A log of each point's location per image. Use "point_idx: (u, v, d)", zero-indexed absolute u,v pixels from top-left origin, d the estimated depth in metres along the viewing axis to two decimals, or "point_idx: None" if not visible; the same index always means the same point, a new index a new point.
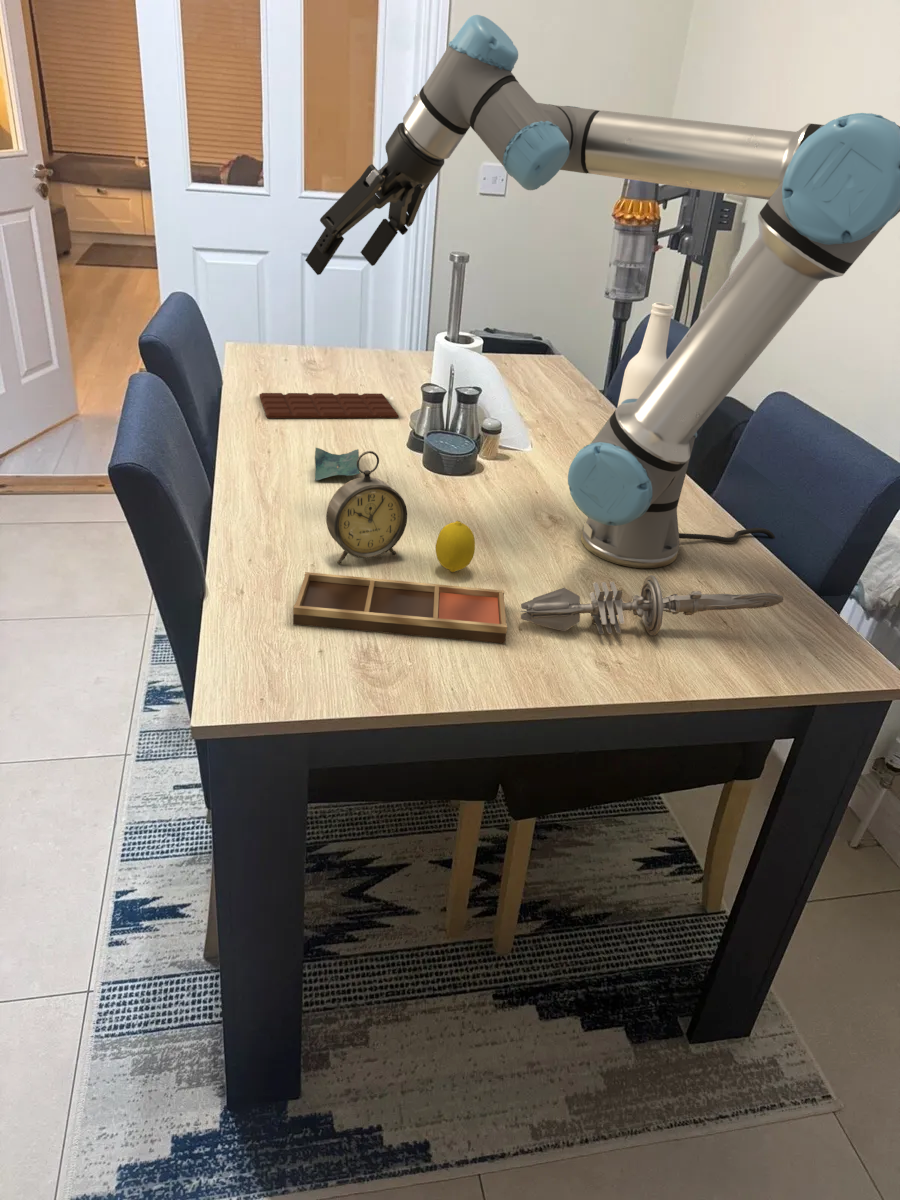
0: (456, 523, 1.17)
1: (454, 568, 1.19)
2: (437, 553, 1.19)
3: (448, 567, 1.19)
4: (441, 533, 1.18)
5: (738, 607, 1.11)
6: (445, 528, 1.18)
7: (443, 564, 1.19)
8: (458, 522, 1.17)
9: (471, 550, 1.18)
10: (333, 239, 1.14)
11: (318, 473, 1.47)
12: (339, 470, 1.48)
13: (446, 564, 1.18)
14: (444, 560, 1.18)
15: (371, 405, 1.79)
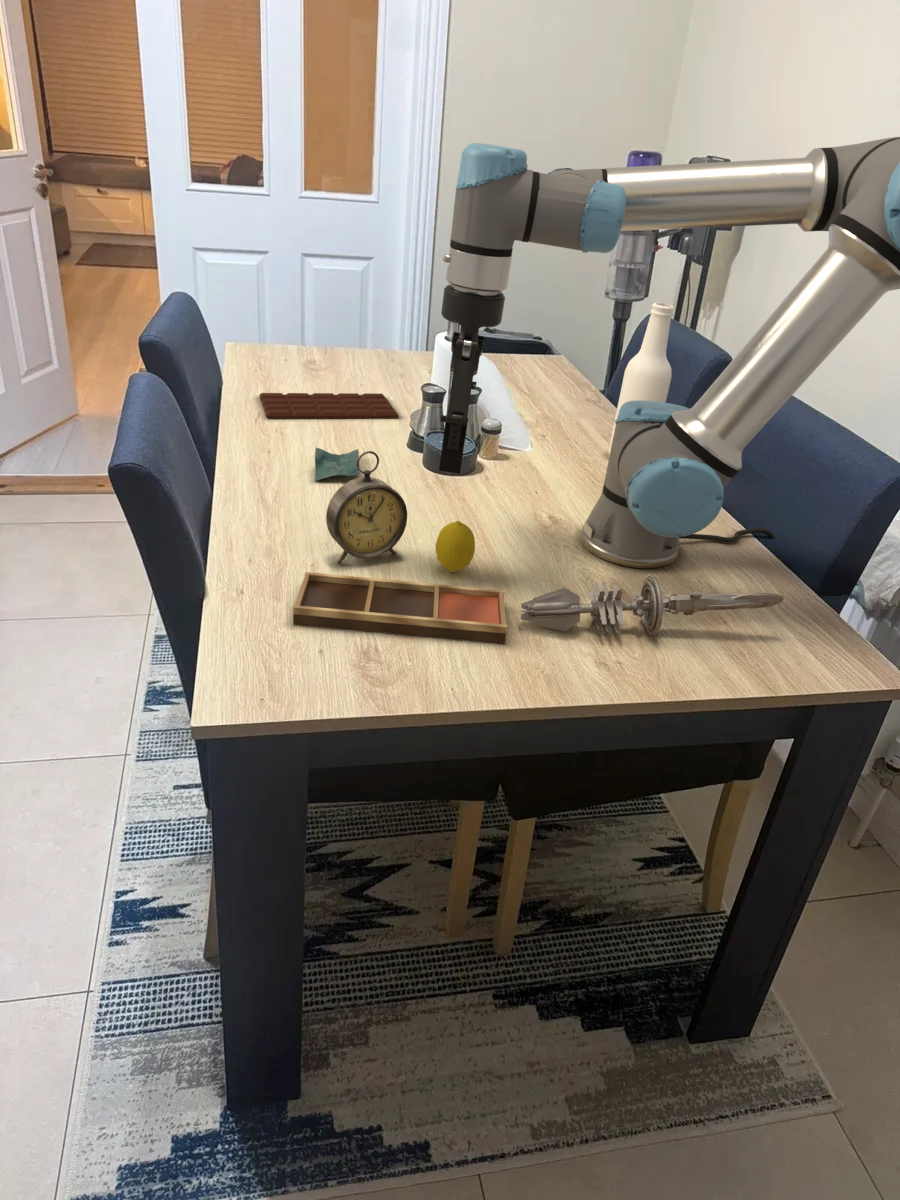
0: (456, 523, 1.17)
1: (454, 568, 1.19)
2: (437, 553, 1.19)
3: (448, 567, 1.19)
4: (441, 533, 1.18)
5: (738, 607, 1.11)
6: (445, 528, 1.18)
7: (443, 564, 1.19)
8: (458, 522, 1.17)
9: (471, 550, 1.18)
10: (461, 430, 1.04)
11: (318, 473, 1.47)
12: (339, 470, 1.48)
13: (446, 564, 1.18)
14: (444, 560, 1.18)
15: (371, 405, 1.79)
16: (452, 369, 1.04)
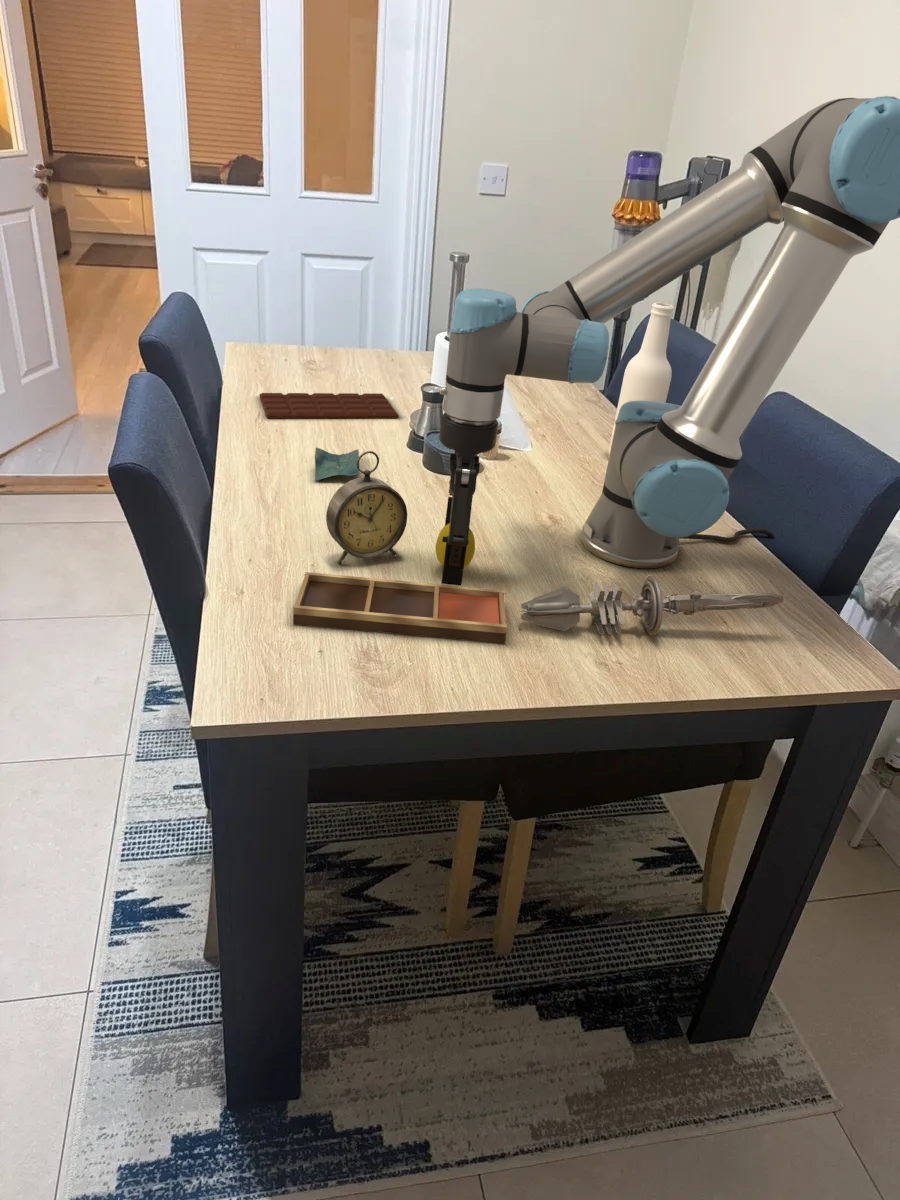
0: None
1: None
2: (437, 553, 1.19)
3: None
4: (441, 533, 1.18)
5: (738, 607, 1.11)
6: (445, 528, 1.18)
7: (443, 564, 1.19)
8: None
9: (471, 550, 1.18)
10: (461, 548, 1.11)
11: (318, 473, 1.47)
12: (339, 470, 1.48)
13: None
14: None
15: (371, 405, 1.79)
16: (451, 491, 1.11)
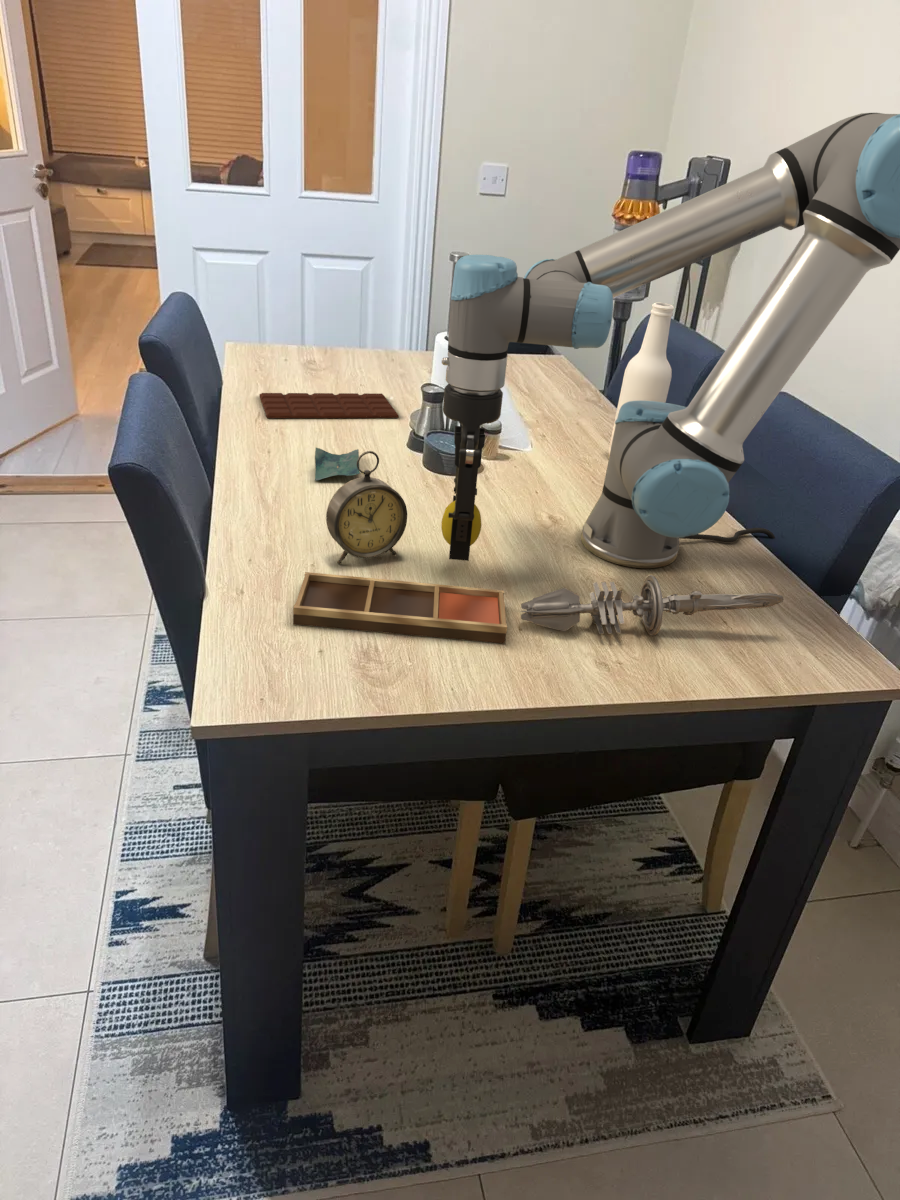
0: None
1: None
2: (443, 531, 1.17)
3: None
4: (447, 510, 1.16)
5: (738, 607, 1.11)
6: (450, 505, 1.16)
7: (449, 542, 1.17)
8: None
9: (477, 527, 1.16)
10: (467, 523, 1.13)
11: (318, 473, 1.47)
12: (339, 470, 1.48)
13: None
14: (450, 538, 1.16)
15: (371, 405, 1.79)
16: (456, 466, 1.11)
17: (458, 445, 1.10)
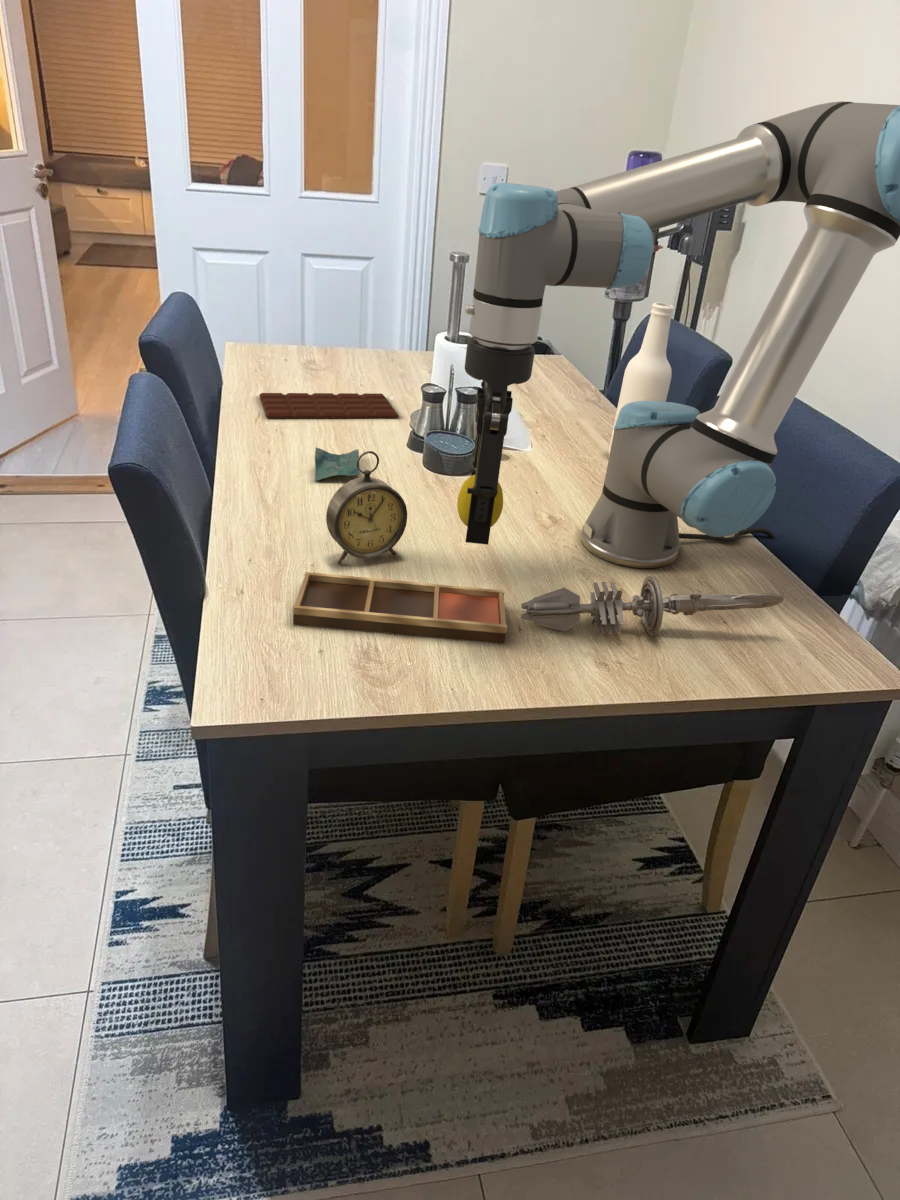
0: None
1: None
2: (459, 509, 1.02)
3: None
4: (464, 485, 1.01)
5: (738, 607, 1.11)
6: (469, 480, 1.01)
7: (466, 522, 1.02)
8: None
9: (498, 506, 1.01)
10: None
11: (318, 473, 1.47)
12: (339, 470, 1.48)
13: None
14: (467, 517, 1.01)
15: (371, 405, 1.79)
16: (478, 433, 0.96)
17: (481, 409, 0.95)
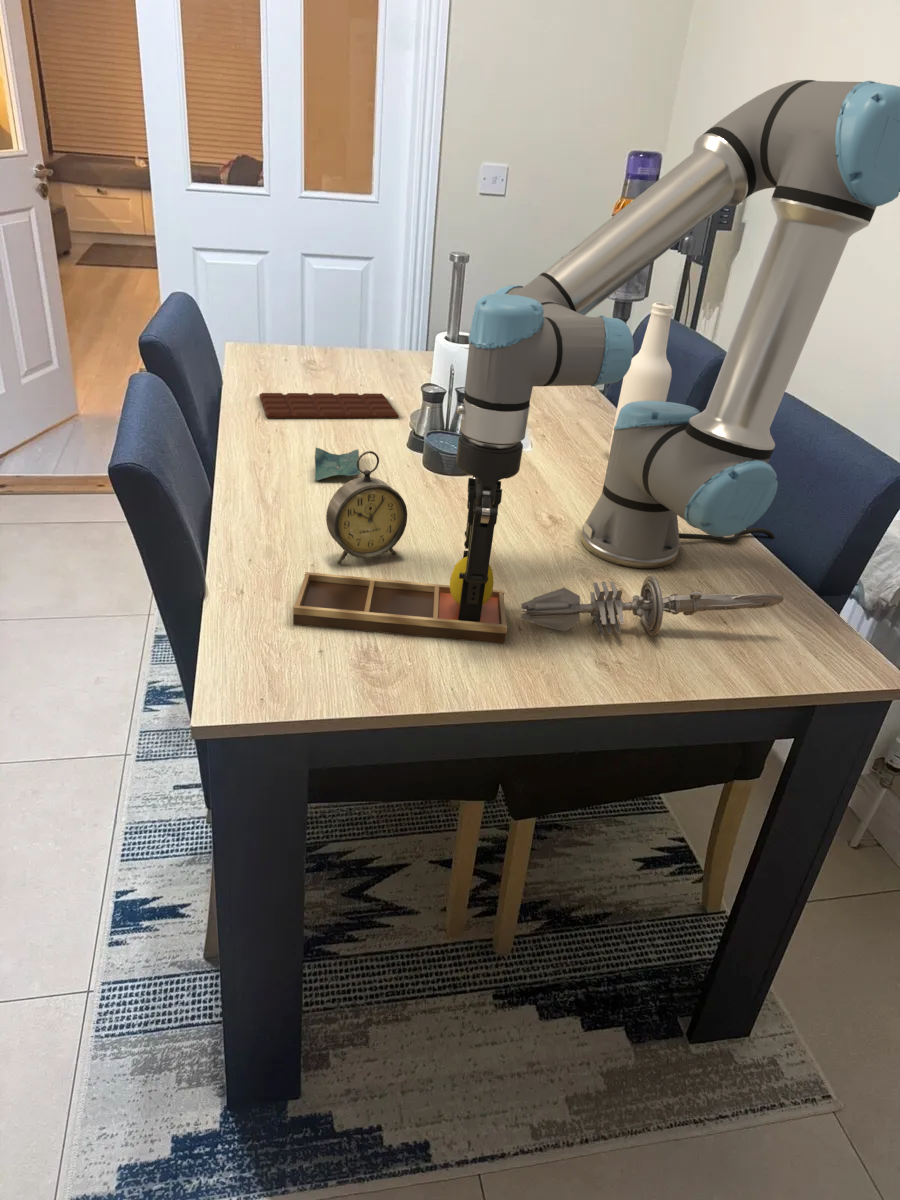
0: None
1: None
2: (451, 590, 1.07)
3: None
4: (456, 568, 1.06)
5: (738, 607, 1.11)
6: (461, 563, 1.06)
7: (458, 602, 1.07)
8: None
9: (489, 587, 1.06)
10: None
11: (318, 473, 1.47)
12: (339, 470, 1.48)
13: None
14: (459, 598, 1.06)
15: (371, 405, 1.79)
16: (469, 522, 1.00)
17: (472, 500, 0.99)
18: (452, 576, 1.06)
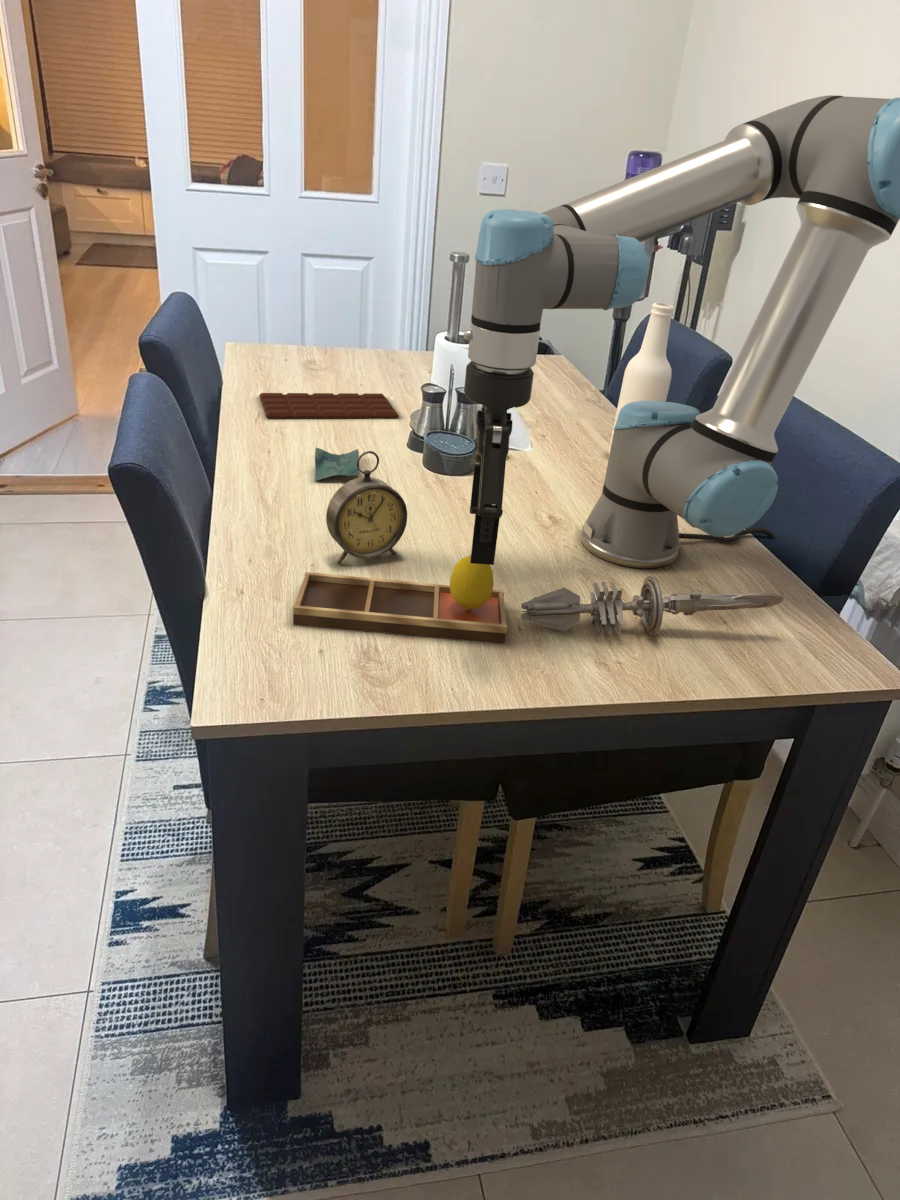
0: None
1: (470, 607, 1.07)
2: (451, 590, 1.07)
3: (464, 605, 1.07)
4: (456, 568, 1.06)
5: (738, 607, 1.11)
6: (460, 562, 1.06)
7: (458, 602, 1.07)
8: None
9: (489, 587, 1.06)
10: None
11: (318, 473, 1.47)
12: (339, 470, 1.48)
13: (461, 602, 1.06)
14: (459, 598, 1.06)
15: (371, 405, 1.79)
16: (480, 454, 0.95)
17: None
18: (452, 576, 1.06)
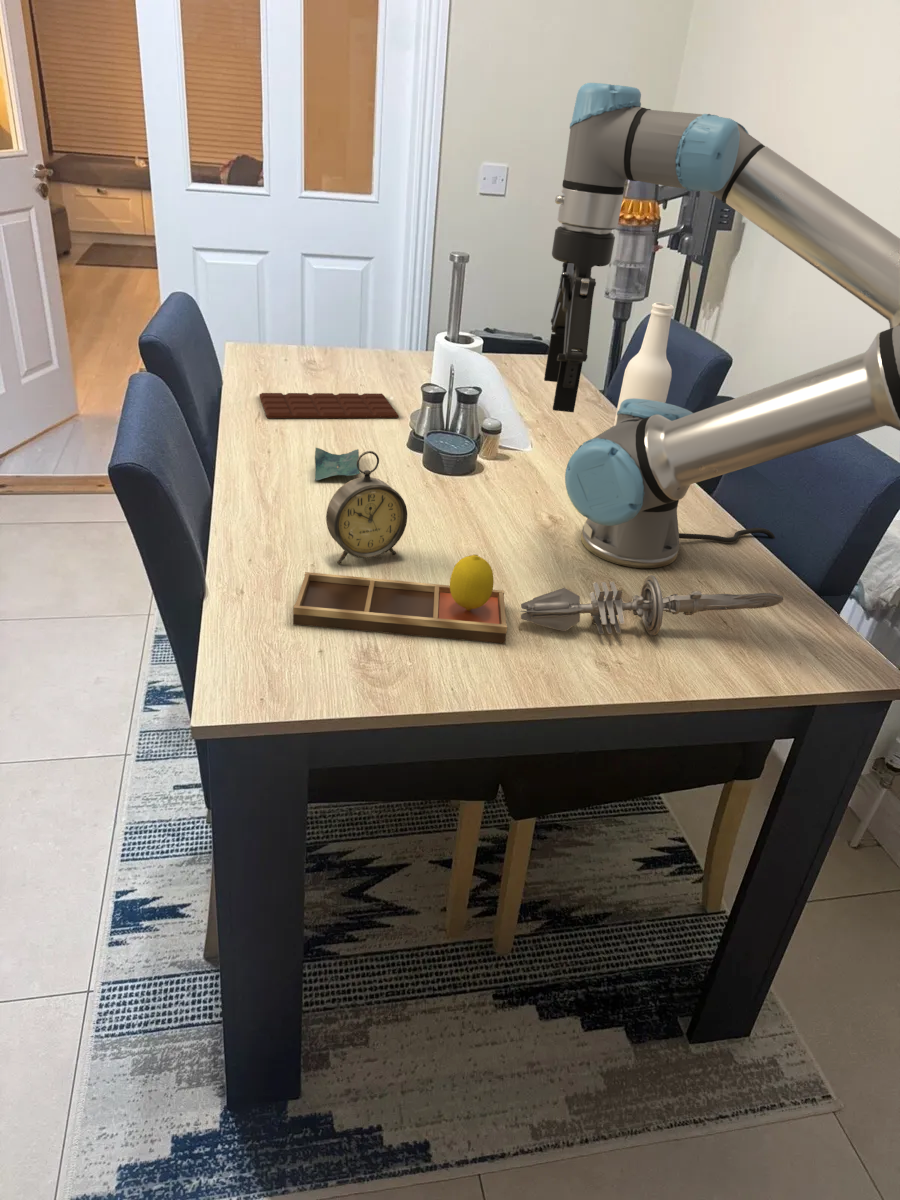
0: (473, 557, 1.05)
1: (470, 607, 1.07)
2: (451, 590, 1.07)
3: (464, 605, 1.07)
4: (456, 568, 1.06)
5: (738, 607, 1.11)
6: (460, 562, 1.06)
7: (458, 602, 1.07)
8: (475, 556, 1.05)
9: (489, 587, 1.06)
10: None
11: (318, 474, 1.47)
12: (339, 470, 1.48)
13: (461, 602, 1.06)
14: (459, 598, 1.06)
15: (371, 405, 1.79)
16: (565, 309, 1.07)
17: None
18: (452, 576, 1.06)
